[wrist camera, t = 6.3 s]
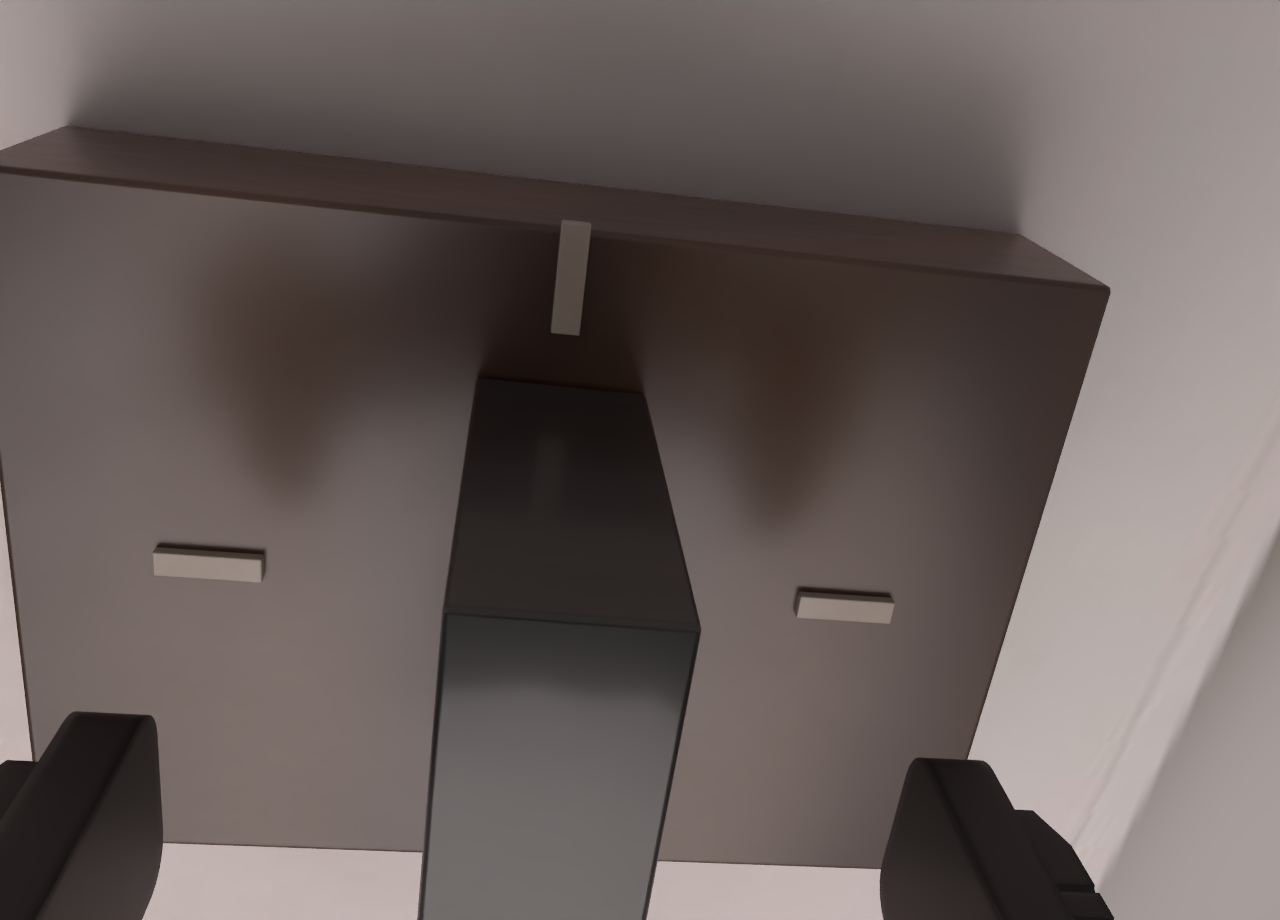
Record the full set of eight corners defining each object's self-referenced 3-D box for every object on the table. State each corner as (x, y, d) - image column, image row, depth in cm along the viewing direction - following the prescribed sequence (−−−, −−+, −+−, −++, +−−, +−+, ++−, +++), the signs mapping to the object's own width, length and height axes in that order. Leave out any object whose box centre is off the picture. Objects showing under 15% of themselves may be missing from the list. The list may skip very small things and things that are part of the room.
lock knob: (475, 376, 14) (440, 623, 9) (646, 393, 14) (707, 643, 9) (443, 754, 17) (399, 1123, 11) (590, 762, 17) (614, 1125, 12)
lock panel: (1025, 227, 17) (1122, 283, 14) (882, 758, 21) (935, 885, 18) (62, 116, 15) (-49, 155, 12) (109, 720, 19) (35, 854, 17)
